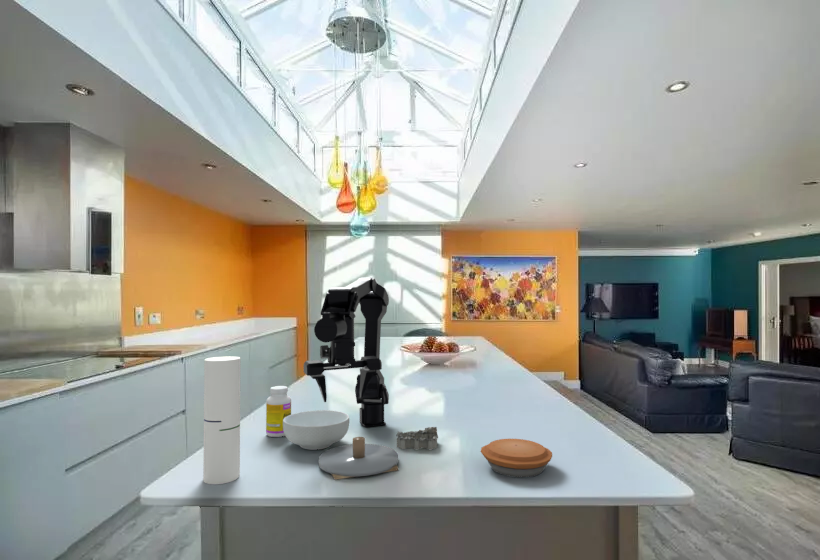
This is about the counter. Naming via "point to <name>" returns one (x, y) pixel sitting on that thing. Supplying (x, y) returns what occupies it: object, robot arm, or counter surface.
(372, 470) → the lid
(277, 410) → the supplement bottle
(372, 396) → the robot arm
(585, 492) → the counter surface
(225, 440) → the cylindrical container
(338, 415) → the cereal bowl
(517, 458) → the pie
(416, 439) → the egg carton
